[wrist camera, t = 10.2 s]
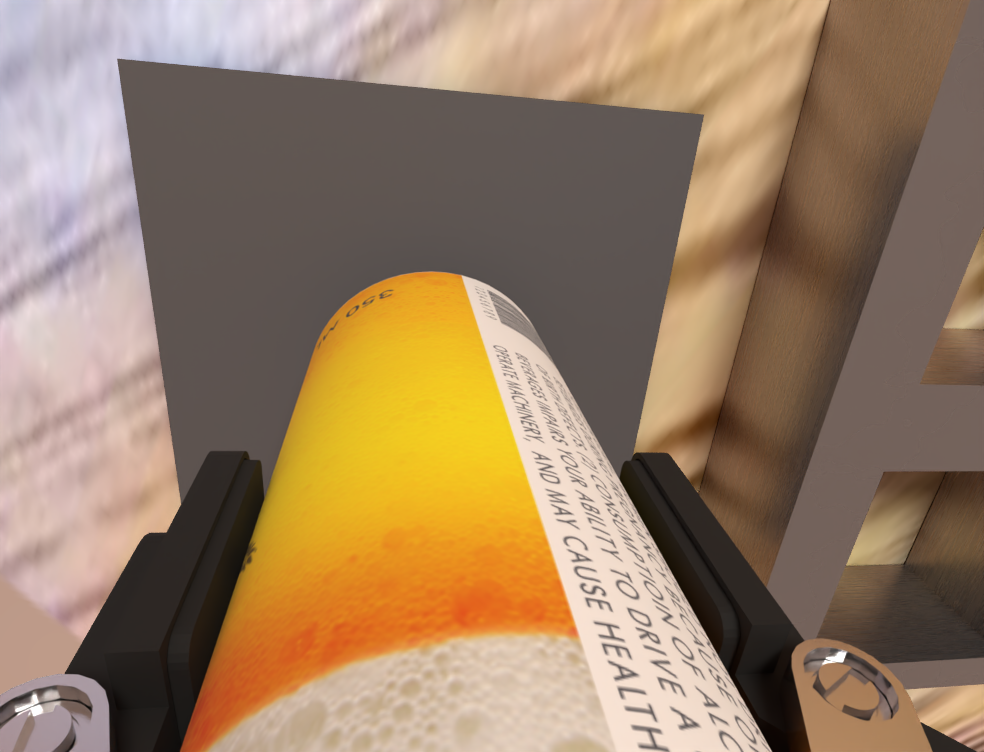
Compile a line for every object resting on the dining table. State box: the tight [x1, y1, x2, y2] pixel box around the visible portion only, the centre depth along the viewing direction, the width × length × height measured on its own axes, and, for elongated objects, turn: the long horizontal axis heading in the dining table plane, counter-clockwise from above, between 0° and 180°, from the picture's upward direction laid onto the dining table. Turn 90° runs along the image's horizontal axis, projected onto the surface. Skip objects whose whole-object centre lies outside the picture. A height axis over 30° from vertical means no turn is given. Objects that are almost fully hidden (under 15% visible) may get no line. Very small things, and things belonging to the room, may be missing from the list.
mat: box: [117, 59, 704, 504], centre depth 18 cm, size 14×14×1 cm
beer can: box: [180, 271, 772, 752], centre depth 10 cm, size 6×6×15 cm
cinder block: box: [699, 0, 984, 689], centre depth 19 cm, size 20×12×4 cm, turn 175°
